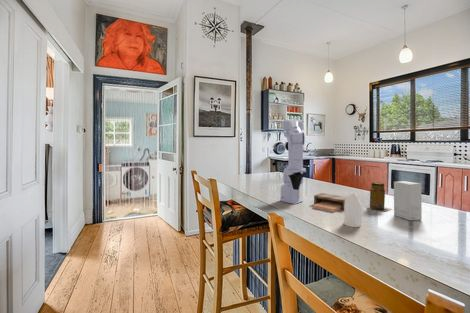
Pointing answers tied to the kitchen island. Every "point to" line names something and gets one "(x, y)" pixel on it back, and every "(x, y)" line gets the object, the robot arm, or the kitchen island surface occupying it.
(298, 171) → the robot arm
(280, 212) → the kitchen island surface
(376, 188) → the condiment
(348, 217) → the white pointed crystal
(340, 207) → the tile
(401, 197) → the skincare box
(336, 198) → the shelf
